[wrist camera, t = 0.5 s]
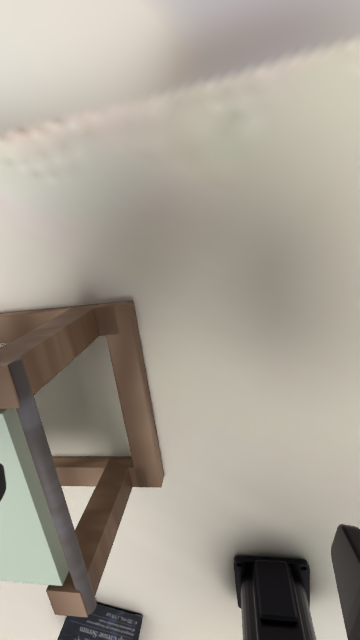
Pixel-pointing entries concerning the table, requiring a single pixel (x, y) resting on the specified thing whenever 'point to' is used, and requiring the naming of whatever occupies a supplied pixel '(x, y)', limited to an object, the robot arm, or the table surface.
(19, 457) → the trapdoor
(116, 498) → the frame
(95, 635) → the box
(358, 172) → the table surface
